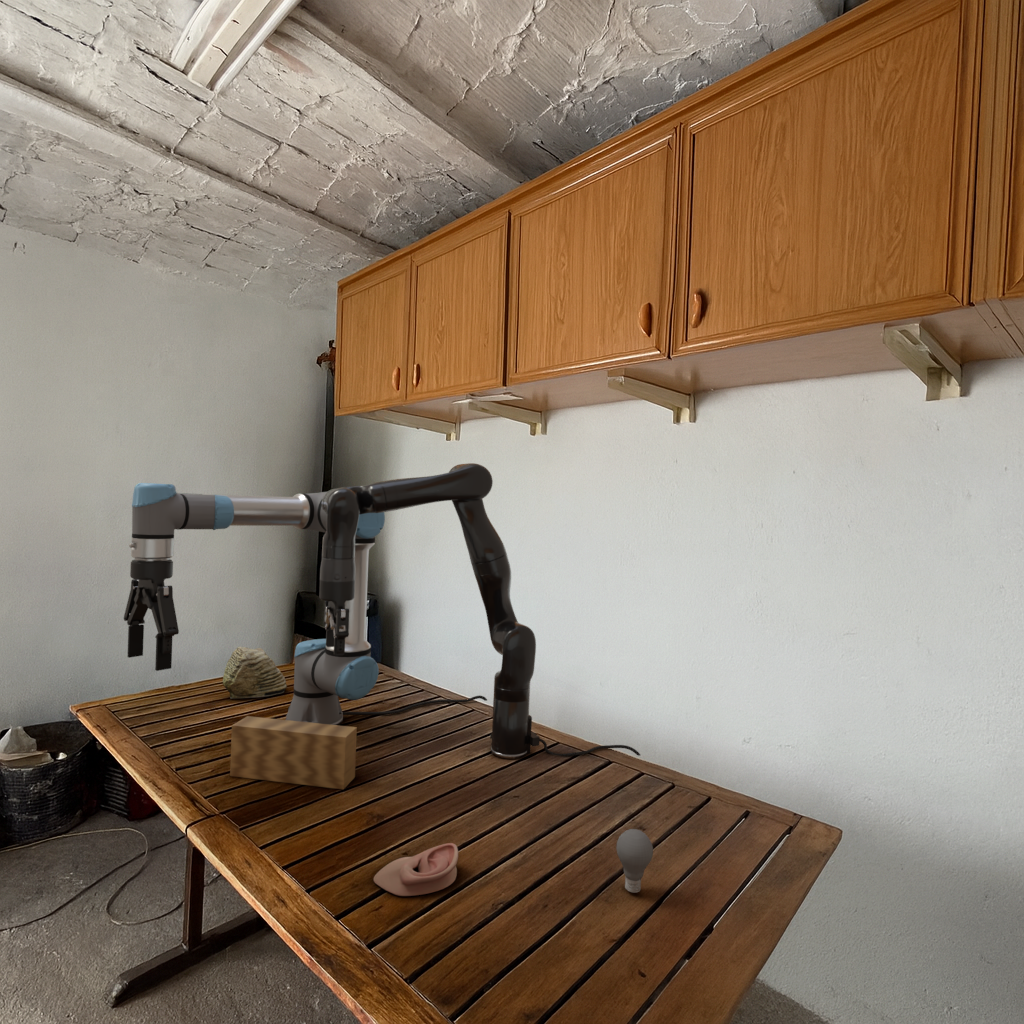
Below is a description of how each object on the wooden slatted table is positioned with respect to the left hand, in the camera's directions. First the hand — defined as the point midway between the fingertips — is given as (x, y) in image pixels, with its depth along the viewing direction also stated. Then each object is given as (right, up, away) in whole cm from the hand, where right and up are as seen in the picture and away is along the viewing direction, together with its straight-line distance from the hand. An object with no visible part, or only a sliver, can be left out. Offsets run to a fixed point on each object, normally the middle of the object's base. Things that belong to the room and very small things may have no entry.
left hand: (148, 662), depth 129 cm
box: (+25, -29, +13) cm, 40 cm away
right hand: (+35, 0, +11) cm, 37 cm away
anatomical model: (+58, -31, -22) cm, 70 cm away
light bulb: (+94, -33, -24) cm, 103 cm away
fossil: (-6, -27, +69) cm, 74 cm away
